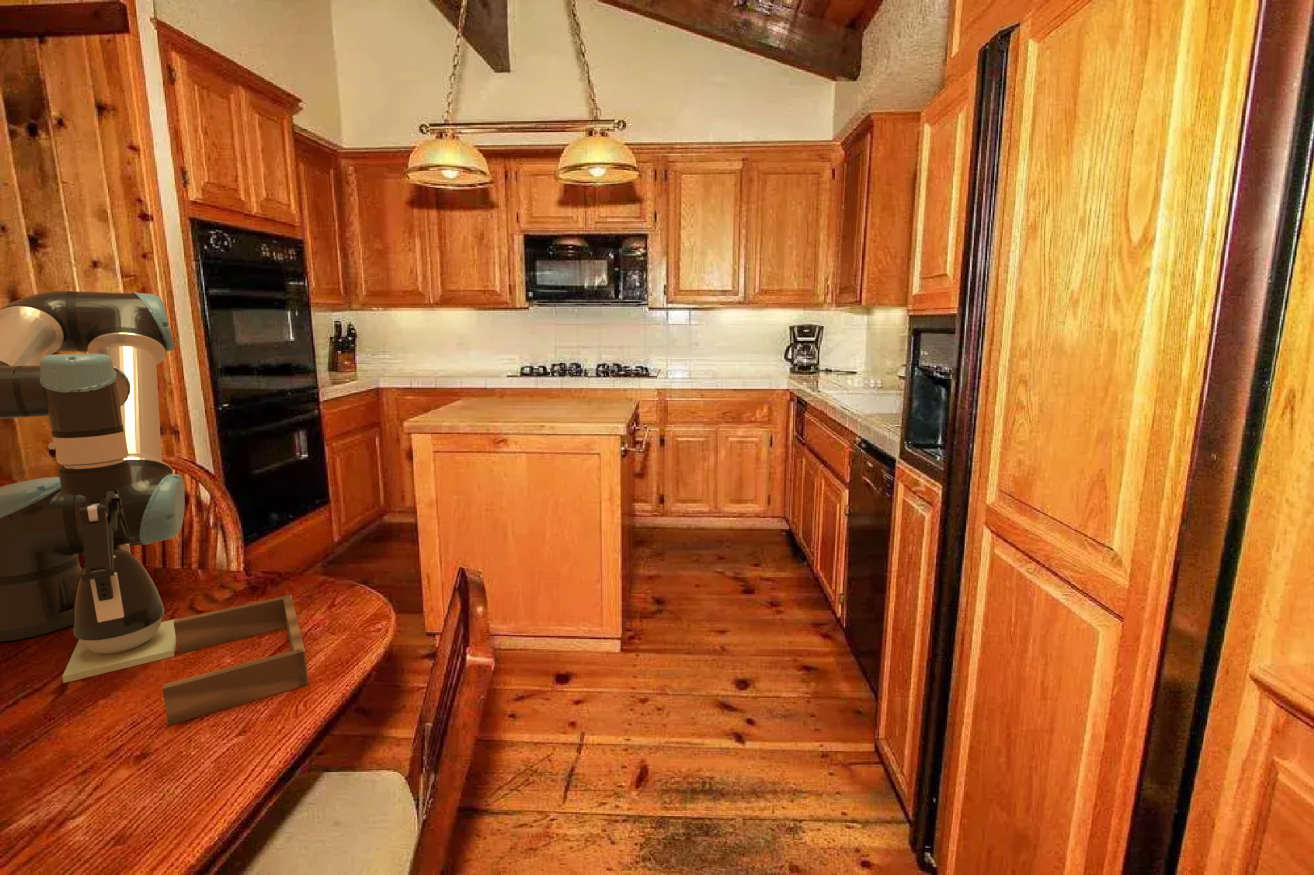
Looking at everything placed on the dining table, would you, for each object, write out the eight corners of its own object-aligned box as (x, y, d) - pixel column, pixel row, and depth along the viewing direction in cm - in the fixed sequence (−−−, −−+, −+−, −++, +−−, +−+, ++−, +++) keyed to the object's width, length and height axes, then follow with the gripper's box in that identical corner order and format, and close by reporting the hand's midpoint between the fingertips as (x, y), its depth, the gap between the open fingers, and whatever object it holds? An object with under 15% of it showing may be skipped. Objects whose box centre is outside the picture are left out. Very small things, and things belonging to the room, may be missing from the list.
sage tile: (80, 645, 93) (79, 639, 93) (178, 624, 100) (177, 618, 99) (63, 683, 83) (62, 676, 83) (173, 656, 90) (172, 650, 90)
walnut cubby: (178, 650, 92) (174, 619, 91) (294, 622, 100) (291, 594, 99) (168, 725, 74) (162, 689, 74) (308, 684, 83) (305, 651, 82)
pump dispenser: (172, 621, 98) (157, 532, 95) (163, 650, 90) (146, 553, 87) (88, 638, 93) (70, 545, 90) (70, 671, 84) (49, 569, 81)
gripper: (75, 450, 94) (98, 577, 98) (35, 485, 74) (65, 644, 78) (138, 445, 98) (157, 567, 102) (116, 477, 78) (141, 628, 82)
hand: (118, 601), depth 90 cm, fingers open, 13 cm apart
